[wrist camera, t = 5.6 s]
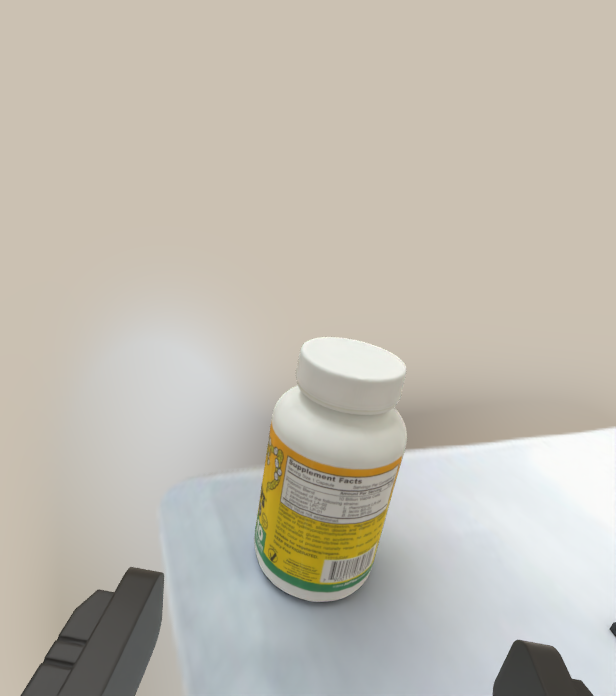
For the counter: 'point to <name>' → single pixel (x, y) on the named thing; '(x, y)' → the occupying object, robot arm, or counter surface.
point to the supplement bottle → (330, 469)
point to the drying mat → (613, 628)
